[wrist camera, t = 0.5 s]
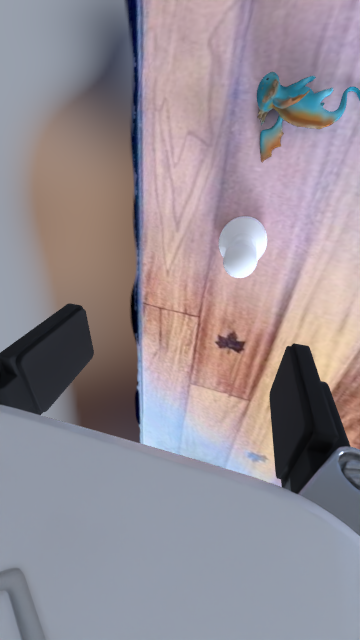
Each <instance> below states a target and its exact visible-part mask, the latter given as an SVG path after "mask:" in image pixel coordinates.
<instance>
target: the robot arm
mask: <svg viewBox="0 0 360 640" xmlns="http://www.w3.org/2000/svg"><path fill="white" fill-rule="evenodd" d="M93 354H94V351H93V346H92V341H91V336H90V331H89V326H88V321H87V316H86V311H85V310H84V309H83V307H82V306H80V305H75V304H67V305H66V306H64V307H63V308H62V309H60V310H59V311H57V312H56V313H55V314H53V315H52V316H51V317H49V318H48V319H46V320H45V321H44V322H42V323H41V324H39V325H38V326H37V327H35V328H34V329H33V330H31V331H30V332H28V333H27V334H26V335H25V336H23V337H21V338H20V339H19V340H17V341H16V342H14V343H13V344H12V345H10V346H9V347H8V348H6V349H5V350H3V351H2V352H1V353H0V640H360V450H359V449H356V448H353V447H350V444H349V441H348V438H347V436H346V433H345V430H344V427H343V425H342V422H341V419H340V416H339V413H338V411H337V408H336V405H335V402H334V400H333V397H332V394H331V391H330V388H329V386H328V384H327V383H326V382H322V381H320V378H319V375H318V372H317V369H316V366H315V363H314V360H313V357H312V354H311V351H310V348H309V346H305V345H299V344H293V345H292V346H287V347H286V350H285V353H284V355H283V358H282V361H281V363H280V366H279V369H278V371H277V374H276V377H275V380H274V382H273V385H272V388H271V391H270V409H271V421H272V433H273V446H274V458H275V471H276V477H277V478H279V479H281V483H282V487H280V486H277V485H274V484H271V483H268V482H266V481H263V480H260V479H257V478H254V477H251V476H248V475H245V474H241V473H238V472H235V471H232V470H228V469H225V468H222V467H219V466H215V465H212V464H209V463H205V462H202V461H199V460H195V459H192V458H188V457H185V456H181V455H178V454H174V453H171V452H168V451H164V450H161V449H157V448H154V447H150V446H147V445H143V444H140V443H136V442H133V441H129V440H126V439H122V438H119V437H115V436H112V435H108V434H105V433H101V432H98V431H94V430H91V429H87V428H83V427H80V426H77V425H73V424H70V423H66V422H63V421H59V420H55V419H52V418H48V417H45V416H41V414H42V413H43V412H46V411H47V410H48V409H49V408H50V407H51V405H52V404H53V403H54V402H55V401H56V400H57V399H58V397H59V396H60V395H61V394H62V393H63V392H64V390H65V389H66V388H67V387H68V386H69V384H70V383H71V382H72V381H73V380H74V379H75V377H76V376H77V375H78V374H79V373H80V372H81V370H82V369H83V368H84V367H85V366H86V365H87V363H88V362H89V361H90V360H91V359H92V357H93Z"/></svg>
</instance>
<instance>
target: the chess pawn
mask: <svg viewBox="0 0 360 640" xmlns="http://www.w3.org/2000/svg"><path fill="white" fill-rule="evenodd" d="M266 245H267V235H266V231H265V229H264V226H263V225H262V224H261V223H260V221H258V220H257V219H255V218H253V217H249V216H241V217H237V218H235V219H233V220H231V221H230V222H229V223H228V224H227V225H226V226H225V227H224V229H223V230H222V232H221V234H220V238H219V250H220V253H221V255H222V257H223V265H224V268H225V270H226V272H227V273H228V274H229V275H231V276H232V277H236V278H243V277H246V276H248V275H250V274H251V273H252V272H253V271H254V269H255V267H256V265H257V260H258V259H259V258H260V257H261V256H262V254H263V253H264V251H265V249H266Z"/></svg>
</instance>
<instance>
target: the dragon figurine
mask: <svg viewBox="0 0 360 640" xmlns="http://www.w3.org/2000/svg"><path fill="white" fill-rule="evenodd" d="M315 78H316V77H315V76H310V77H307V78H305V79H302V80H300V81H299V82H297V83H294V84H292V85H290V86H288V87H284V86H282V85H280V82H279V77H278V75H277V74H276V73H275V72H270V73H268V74H267V75H265V76H264V78H263V79H262V80H261V82H260V84H259V87H258V90H257V102H258V106H259V109H260V111H259V112H258V114H259V115H258V117H257V118H259V119H261V118H262V119H261V121H262V123H261V125H262V124H263V123H264V122H265V117H266V116H267V114H268V111H270V110H271V109H273V108H274V109H275V110H276V111H277V112H278V113H279V117H278V119H277V122H276V123H275V125H274V126H273V127H272V128H270V129H265V130H262V131H261V134H260V153H261V162H263V161H264V160H265V159H267V158H268V157H271V155H272V154H271V152H272V150H273V149H274V148H276V147H280V146H281V144H280V139H281V136H282V135H283V132H282V121H283V119H284V120H285V121H287V122H288V123H291V124H292V125H295V126H297V127H306V128H313V129H314V128H316V129H321V128H323V127H327V126H329V125H331V124H333V123H334V122H335V121H337V120H338V119H339V118H340V117H341V116H342V114H343V112H344V110H345V108H346V102H347V93H348V92H349V91H354V92H356V93H357V95H358V97H359V100H360V90H359V89H358V88H356V87H349V88H347V89H346V90H345V91H344V93H343V96H342V99H341V103H340V106H339V108H338V109H337V110H336V111H334V112H329V111H327V110H325V109H324V108H323V105H324V103H320V102H321V101H322V100H323V99H324V98H325V97H327V96H329V95H330V94H331V93H332V92H333V90H332V89H333V88H330V89H327V90H323V91H320V92H318V93H314V92H313V91H312V89H310V88H309V87H307V86H305V85H306V84H307V83H309V82H311V81H313V80H314V79H315Z"/></svg>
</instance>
